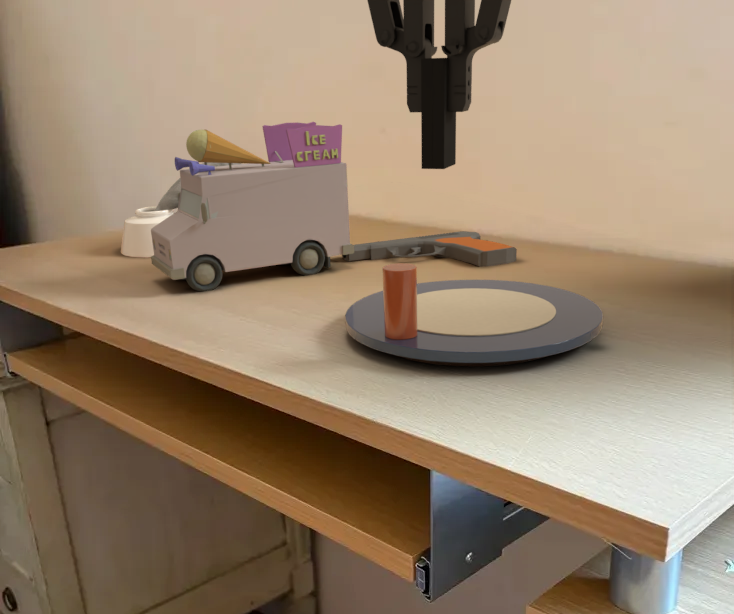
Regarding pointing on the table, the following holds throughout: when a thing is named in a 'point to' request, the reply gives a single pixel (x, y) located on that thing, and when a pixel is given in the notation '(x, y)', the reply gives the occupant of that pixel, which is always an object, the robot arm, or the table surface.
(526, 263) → the table surface
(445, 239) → the handgun
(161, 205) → the inkwell
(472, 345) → the plate
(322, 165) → the toy vehicle
